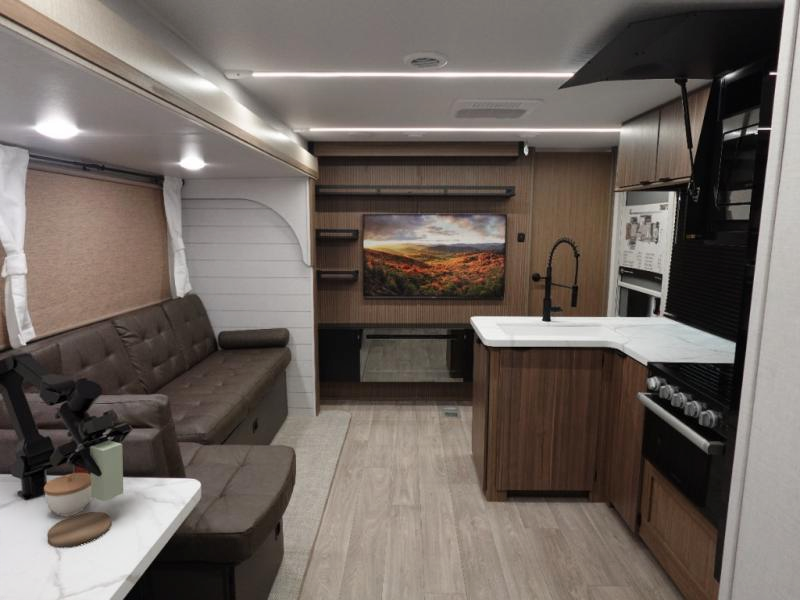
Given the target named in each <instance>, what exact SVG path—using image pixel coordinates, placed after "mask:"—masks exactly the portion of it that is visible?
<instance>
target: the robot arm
mask: <svg viewBox="0 0 800 600" xmlns="http://www.w3.org/2000/svg"><path fill="white" fill-rule="evenodd" d="M25 380H26V381H28V382H29V383H31V384H32V385H33V386H34V387H36V388H37V389H38V390H39V398H41V400H42V401H43V402H44V403H45V404H46V405H47V406H50V407H52V406H57V405H60V404H61V405H60V407H57V408H56V413H55V415H54V418H55V420H59V419H61V421H62V422H63V424H64V425H65V427H66V429H67V431H68V432H67V434H66V435H67V437H68V438H70V437H71V438H72V437H73V438H74V440H75V441H76V442H71V441H70V442H67V443H64V444H62V445H58V446H57V447H54V444H53V442H52V438H51V437H50V436H44V435H43V434H41V432H40V431H39V428H38V426H37V423H36V420H35V418H34V415H33V412H32V409H31V408H30V407H31V406H30V404H29V401H28V398H27V396H26V394H25V390H24V388H23V384H24V381H25ZM102 393H103V388H102V386H101V385H100V384H98V383H97V382H95V381H93V380H88V379H87V377H86V376H85V377H81V378H77V379H76V380H74V379H73V378H70V377H68V376H66V375H60V374H59V375H58V374H56V373H53V372H52V371H51V370H50V369H48V368H47V367H46V366H44V365H43V364H42V363H40V362H39V361H38V360H36V359H35V358H33V356H32V354H31V353H30V352H21V353H16V354H15V353H14V354H10V355H9V356H6V357H5V358H3V359H0V395H1V396H2V400H3V402H4V406H5V408H6V410H7V414H8V416H9V419H10V422H11V424H12V427H13V430H14V433H15V435H16V438H17V440H18V442H17V443H18V444H17V446H16V450H15V452H14V454H15V458H16V460H15V461H14V462H13V464H12V465H11V467H10V472H11V476H12V477H14V478H17V479H20V481H21V482H20V483H21V490H19V491H17V492H16V493H17V495H18V496H19V497H20V498H22V499H24V500H25V501H27V500H31V499H33V498H36V496H37V497H39V496H42V495H45V492H44V486H45V485H46V484H47V483H48V479H47V470H49V469H53V468H58V467H60V466H63V465H65V464H67V465H68V466H71V465H72V466H73V465H75V466H78V467H80V468H83V469H85V470H87V471H89V472H91V473H93V474H95V475H97V476H101V474H102V473H101V471H100V469H99V467H98V466H97V464H96V463H95V461H94V460H93V458H92V457H91V455H90V447H91V446H94V445H97V444H100V443H103V442H106V441H113V442H117V443H120V444H121V443H122V442H124V441H125V440H126V439H127V437H128V436H129V435H130V434H131V432H132V431H133V430H134V429H133V427H132V425H130V424H129V423H128V422H124V423H120V424H118V425H115V424H114V422H117V421H118V420H119V417H118V415H117V413H116V411H115V410H114V409H112V408H111V409H109V410H107V411H105V412H103V413H102V415H101V416H98V417H97V416H96V415H91V413H90V412H89V411H90V410H91V409H92V408H93V406H94V405H95V404H96V403H97V401H98V399H99V398H100V397H101V396H102ZM114 425H115V426H114ZM110 427H112V428H111V429H110V431H109V432H108V433H106V432H107V431H108V429H107V428H110ZM104 433H106V434H104ZM76 443H77V444H76ZM68 461H69V462H68ZM67 462H68V463H67Z"/></svg>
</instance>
